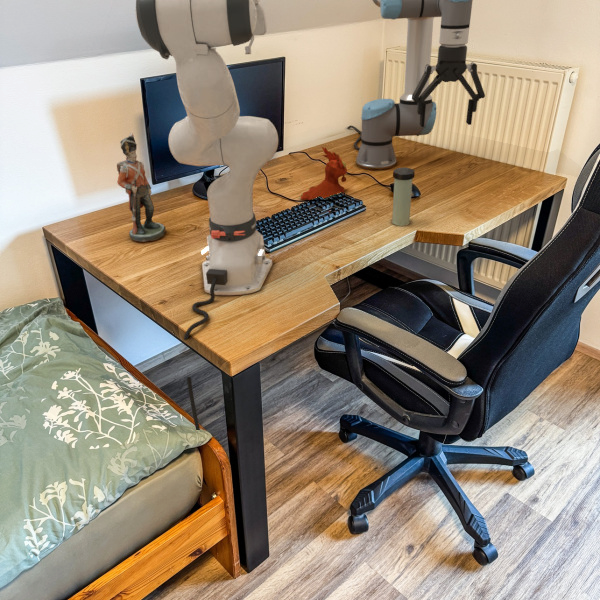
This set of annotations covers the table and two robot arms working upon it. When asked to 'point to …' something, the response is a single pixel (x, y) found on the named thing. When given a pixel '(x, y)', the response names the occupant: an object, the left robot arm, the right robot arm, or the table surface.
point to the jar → (401, 202)
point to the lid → (403, 173)
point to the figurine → (138, 193)
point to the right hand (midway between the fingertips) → (445, 124)
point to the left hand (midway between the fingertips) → (231, 54)
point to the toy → (329, 178)
